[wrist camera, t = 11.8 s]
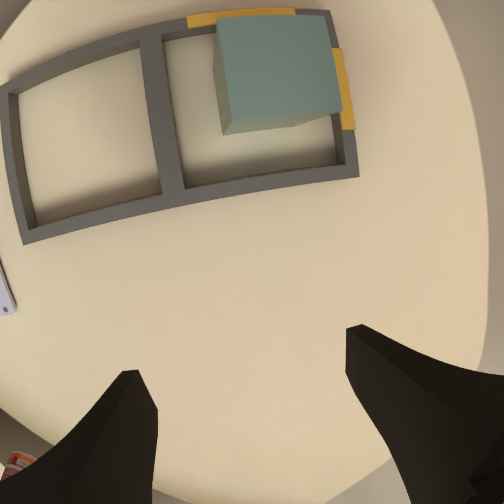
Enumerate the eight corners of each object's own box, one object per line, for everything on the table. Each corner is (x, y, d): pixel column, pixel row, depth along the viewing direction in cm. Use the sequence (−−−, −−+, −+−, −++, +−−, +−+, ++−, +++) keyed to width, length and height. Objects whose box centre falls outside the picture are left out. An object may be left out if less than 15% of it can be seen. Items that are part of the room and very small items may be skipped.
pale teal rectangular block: (223, 135, 16) (232, 120, 9) (211, 62, 15) (214, 8, 8) (292, 126, 16) (343, 110, 10) (280, 55, 15) (321, 5, 8)
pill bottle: (5, 449, 22) (-19, 511, 11) (26, 446, 22) (0, 517, 11) (39, 476, 24) (21, 537, 13) (62, 475, 24) (45, 544, 13)
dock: (32, 240, 16) (21, 246, 15) (8, 89, 13) (-3, 86, 11) (350, 175, 18) (361, 177, 16) (323, 17, 14) (331, 9, 13)
